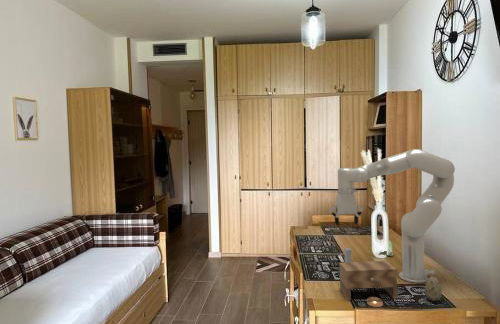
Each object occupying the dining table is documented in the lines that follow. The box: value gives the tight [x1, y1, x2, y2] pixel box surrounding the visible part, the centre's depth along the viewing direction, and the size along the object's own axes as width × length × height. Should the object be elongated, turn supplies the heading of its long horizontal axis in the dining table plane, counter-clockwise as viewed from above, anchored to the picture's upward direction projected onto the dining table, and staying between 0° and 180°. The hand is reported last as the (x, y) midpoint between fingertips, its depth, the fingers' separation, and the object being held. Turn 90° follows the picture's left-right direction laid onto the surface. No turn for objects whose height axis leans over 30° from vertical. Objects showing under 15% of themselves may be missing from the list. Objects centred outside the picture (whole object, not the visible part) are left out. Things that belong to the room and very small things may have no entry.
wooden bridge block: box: [339, 260, 398, 301], centre depth 137 cm, size 21×11×12 cm, turn 91°
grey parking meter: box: [343, 247, 352, 263], centre depth 155 cm, size 7×19×12 cm, turn 1°
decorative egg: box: [424, 276, 443, 302], centre depth 130 cm, size 6×6×10 cm
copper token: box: [366, 296, 384, 308], centre depth 129 cm, size 6×6×2 cm
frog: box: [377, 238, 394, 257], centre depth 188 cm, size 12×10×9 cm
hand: (346, 224), depth 164 cm, fingers open, 9 cm apart
